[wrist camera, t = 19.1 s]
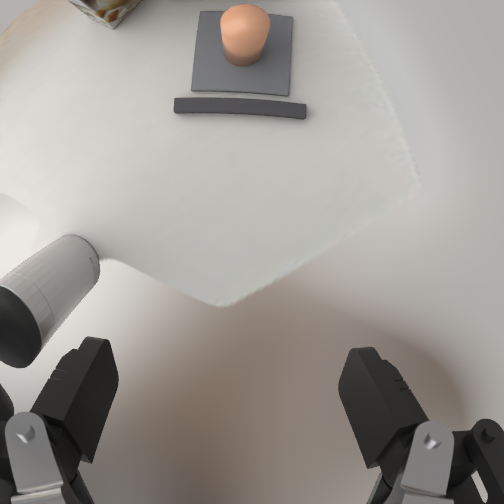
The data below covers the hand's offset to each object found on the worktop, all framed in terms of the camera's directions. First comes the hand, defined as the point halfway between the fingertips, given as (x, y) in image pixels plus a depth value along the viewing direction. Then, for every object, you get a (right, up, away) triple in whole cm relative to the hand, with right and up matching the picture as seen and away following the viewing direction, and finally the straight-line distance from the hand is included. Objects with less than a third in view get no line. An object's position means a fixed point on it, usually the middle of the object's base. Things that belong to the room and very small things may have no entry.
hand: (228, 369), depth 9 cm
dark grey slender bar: (-1, +22, +24) cm, 33 cm away
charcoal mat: (0, +29, +21) cm, 36 cm away
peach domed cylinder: (0, +29, +21) cm, 35 cm away
